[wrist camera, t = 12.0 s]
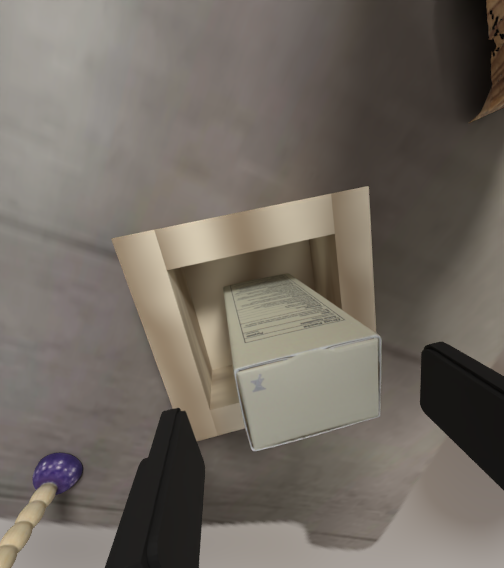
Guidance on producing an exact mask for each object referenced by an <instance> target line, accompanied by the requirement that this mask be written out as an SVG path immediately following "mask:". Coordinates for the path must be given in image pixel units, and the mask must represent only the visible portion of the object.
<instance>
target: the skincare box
mask: <svg viewBox="0 0 504 568" xmlns="http://www.w3.org/2000/svg"><path fill="white" fill-rule="evenodd" d="M223 292H224V300H225V308H226V316H227V323H228V330H229V338H230V346H231V354H232V363H233V371H234V377H235V382H236V387H237V393H238V398H239V403H240V408H241V412H242V417H243V421H244V426H245V430H246V434H247V437H248V440H249V444H250V448H251V450H252V451H259V450H262V449H267V448H271V447H275V446H280V445H283V444H287V443H291V442H295V441H298V440H302V439H306V438H308V437H312V436H316V435H320V434H323V433H327V432H330V431H333V430H337V429H340V428H344V427H347V426H351V425H354V424H357V423H360V422H363V421H367V420H370V419H373V418H377V417H379V416H380V412H381V368H382V339H381V337H380V336H379V335H378V334H376V333H375V332H374V331H372V330H371V329H369V328H368V327H366V326H365V325H363V324H362V323H360V322H359V321H358V320H356V319H354V318H353V317H351V316H350V315H349V314H347V313H346V312H344V311H343V310H341V309H340V308H338V307H337V306H336V305H334V304H333V303H331V302H330V301H328V300H327V299H325V298H324V297H322V296H321V295H320V294H318V293H317V292H315V291H314V290H312V289H311V288H309V287H308V286H306V285H305V284H303V283H302V282H300V281H299V280H298V279H296V278H295V277H293V276H292V275H290V274H281V275H275V276H270V277H264V278H260V279H255V280H250V281H245V282H241V283H237V284H232V285H228V286H224V287H223Z"/></svg>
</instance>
